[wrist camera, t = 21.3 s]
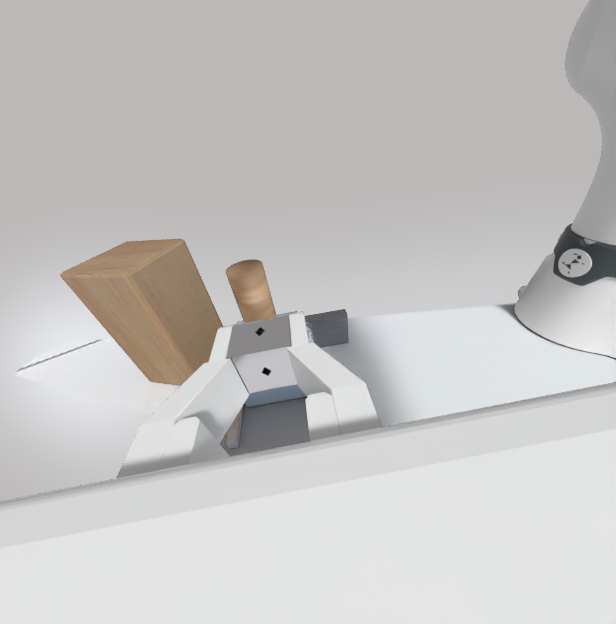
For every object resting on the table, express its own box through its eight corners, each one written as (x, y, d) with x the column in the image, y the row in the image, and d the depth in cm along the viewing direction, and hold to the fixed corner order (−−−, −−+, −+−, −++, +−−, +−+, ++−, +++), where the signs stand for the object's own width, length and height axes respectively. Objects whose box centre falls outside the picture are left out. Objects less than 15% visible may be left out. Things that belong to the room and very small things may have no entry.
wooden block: (186, 339, 46) (126, 240, 34) (231, 343, 44) (184, 237, 32) (149, 382, 39) (55, 274, 27) (201, 389, 36) (124, 273, 24)
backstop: (346, 336, 41) (344, 309, 38) (377, 421, 29) (380, 392, 25) (232, 356, 41) (220, 330, 37) (214, 451, 28) (194, 426, 25)
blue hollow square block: (304, 348, 40) (297, 311, 35) (311, 395, 33) (303, 355, 28) (251, 358, 40) (236, 321, 35) (246, 407, 32) (227, 369, 28)
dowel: (289, 354, 36) (263, 257, 27) (289, 375, 33) (261, 272, 24) (263, 358, 36) (229, 263, 27) (261, 379, 33) (222, 279, 24)
